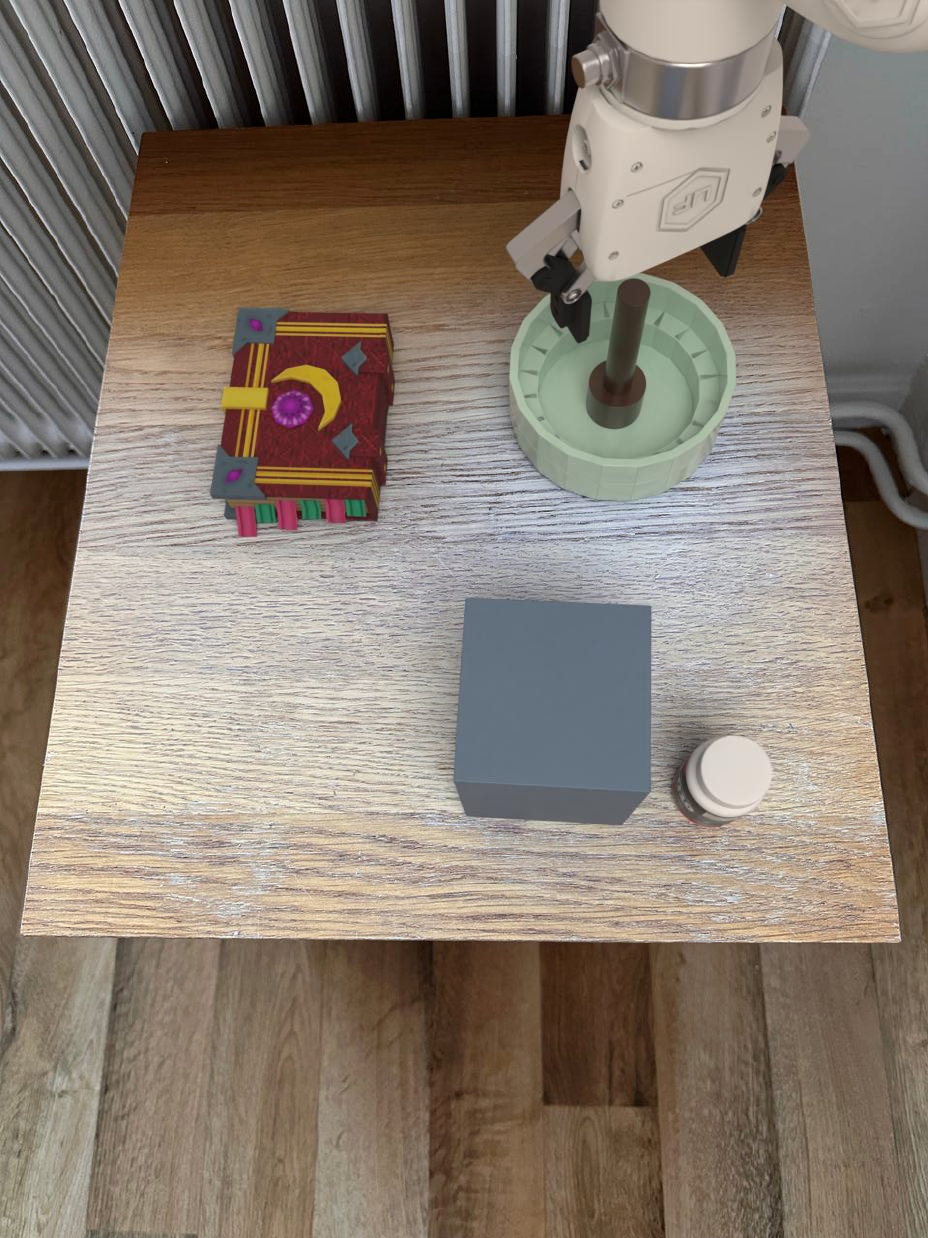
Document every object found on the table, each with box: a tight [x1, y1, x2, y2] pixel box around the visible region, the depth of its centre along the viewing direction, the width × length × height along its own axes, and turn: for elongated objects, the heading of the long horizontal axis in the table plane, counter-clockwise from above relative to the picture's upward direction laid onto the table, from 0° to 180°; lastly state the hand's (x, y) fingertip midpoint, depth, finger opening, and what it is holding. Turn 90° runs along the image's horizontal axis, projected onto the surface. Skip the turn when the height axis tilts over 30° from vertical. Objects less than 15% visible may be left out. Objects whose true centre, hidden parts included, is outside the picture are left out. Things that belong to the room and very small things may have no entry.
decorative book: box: [209, 306, 396, 538], centre depth 70 cm, size 11×16×5 cm
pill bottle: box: [671, 734, 773, 829], centre depth 59 cm, size 5×5×8 cm
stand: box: [452, 597, 652, 826], centre depth 58 cm, size 10×10×14 cm
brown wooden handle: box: [586, 278, 651, 429], centre depth 65 cm, size 4×4×13 cm
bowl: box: [508, 272, 737, 502], centre depth 69 cm, size 15×15×6 cm
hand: (643, 291), depth 58 cm, fingers open, 9 cm apart
